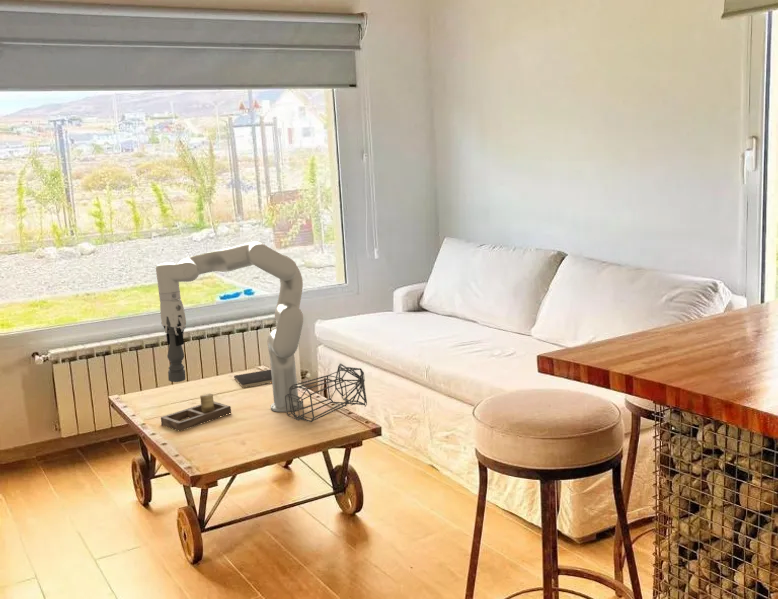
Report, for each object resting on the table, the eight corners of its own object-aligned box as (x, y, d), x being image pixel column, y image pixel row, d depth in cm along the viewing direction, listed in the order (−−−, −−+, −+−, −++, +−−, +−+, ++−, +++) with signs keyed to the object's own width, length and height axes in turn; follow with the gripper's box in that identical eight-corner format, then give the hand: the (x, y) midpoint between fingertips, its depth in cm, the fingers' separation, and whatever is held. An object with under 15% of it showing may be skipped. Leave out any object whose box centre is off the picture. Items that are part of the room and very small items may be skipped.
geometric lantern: (300, 391, 311) (374, 364, 333) (276, 383, 323) (348, 359, 345) (306, 432, 314) (378, 403, 337) (281, 423, 326) (353, 396, 348)
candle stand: (231, 413, 337) (229, 393, 335) (179, 431, 320) (177, 410, 319) (212, 408, 345) (210, 388, 344) (161, 424, 329) (159, 404, 327)
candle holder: (180, 375, 331) (177, 312, 325) (188, 379, 326) (185, 315, 320) (165, 378, 327) (162, 314, 321) (172, 383, 322) (169, 318, 316)
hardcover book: (294, 380, 378) (293, 375, 378) (242, 389, 370) (241, 384, 369) (284, 371, 393) (284, 366, 392) (234, 380, 384) (233, 375, 384)
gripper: (191, 296, 316) (197, 344, 320) (166, 292, 328) (172, 339, 331) (173, 300, 311) (179, 349, 314) (148, 296, 322) (154, 343, 326)
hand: (175, 343), depth 323 cm, fingers closed on candle holder, 5 cm apart
